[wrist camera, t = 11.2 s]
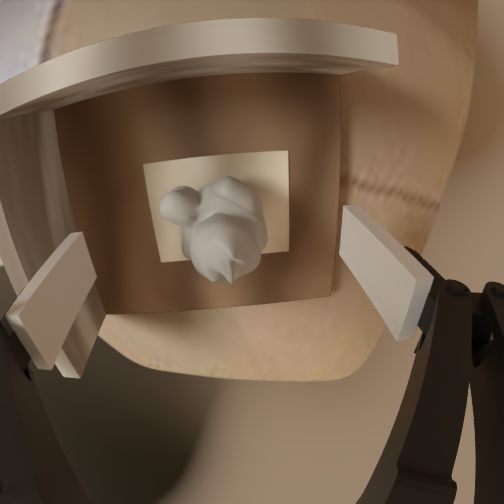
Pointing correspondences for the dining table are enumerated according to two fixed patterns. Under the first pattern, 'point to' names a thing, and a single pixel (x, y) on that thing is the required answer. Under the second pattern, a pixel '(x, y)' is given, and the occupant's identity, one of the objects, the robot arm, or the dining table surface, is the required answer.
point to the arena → (179, 159)
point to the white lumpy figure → (218, 227)
